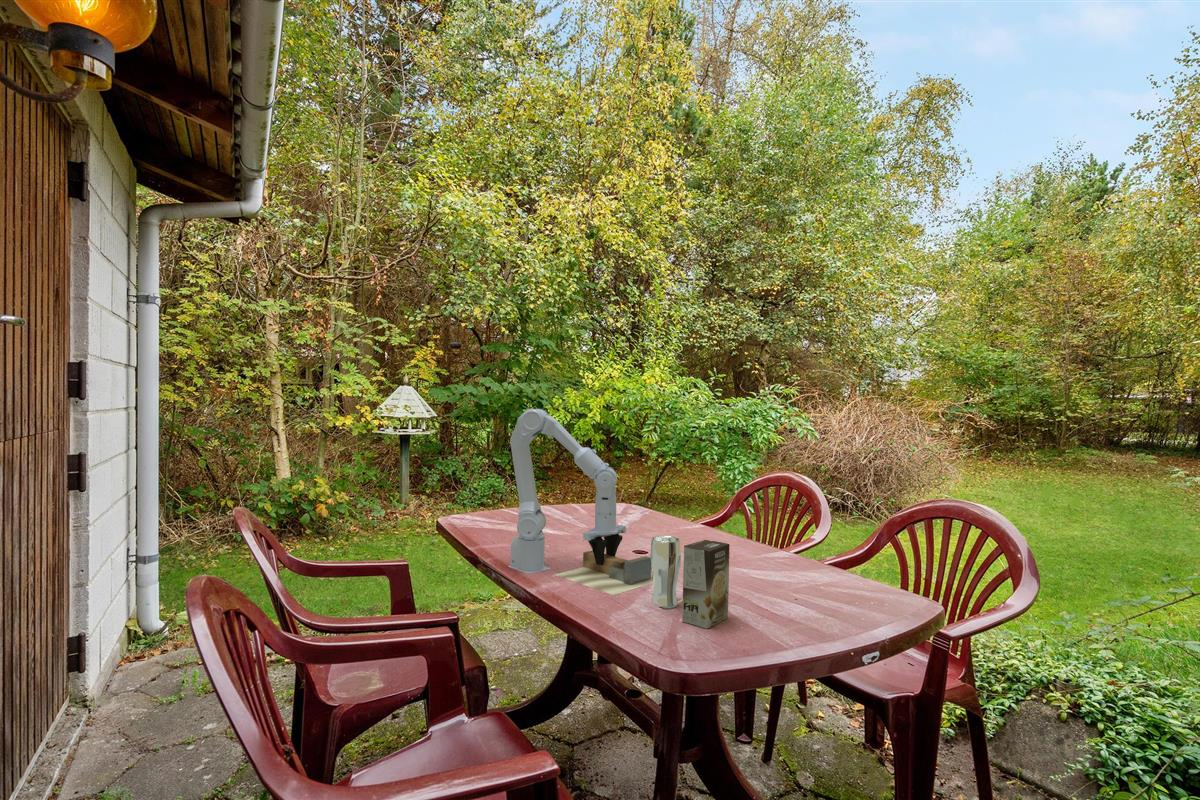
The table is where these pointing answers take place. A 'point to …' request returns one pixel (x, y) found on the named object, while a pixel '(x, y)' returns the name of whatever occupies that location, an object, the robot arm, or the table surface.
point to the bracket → (632, 571)
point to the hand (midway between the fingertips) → (604, 563)
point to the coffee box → (705, 583)
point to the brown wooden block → (608, 561)
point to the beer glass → (665, 570)
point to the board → (600, 581)
